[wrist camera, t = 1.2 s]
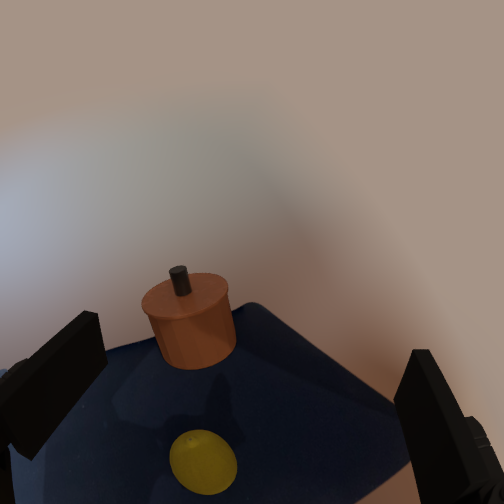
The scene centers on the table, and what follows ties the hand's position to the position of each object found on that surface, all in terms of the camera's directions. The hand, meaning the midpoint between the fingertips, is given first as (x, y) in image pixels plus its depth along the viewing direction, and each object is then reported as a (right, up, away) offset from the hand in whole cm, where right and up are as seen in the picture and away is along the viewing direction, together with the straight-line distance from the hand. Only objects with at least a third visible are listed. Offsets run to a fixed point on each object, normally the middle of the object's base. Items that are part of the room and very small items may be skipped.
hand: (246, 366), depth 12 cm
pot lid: (-9, -1, +31) cm, 32 cm away
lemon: (-3, -17, +12) cm, 21 cm away
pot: (-8, -9, +34) cm, 36 cm away
